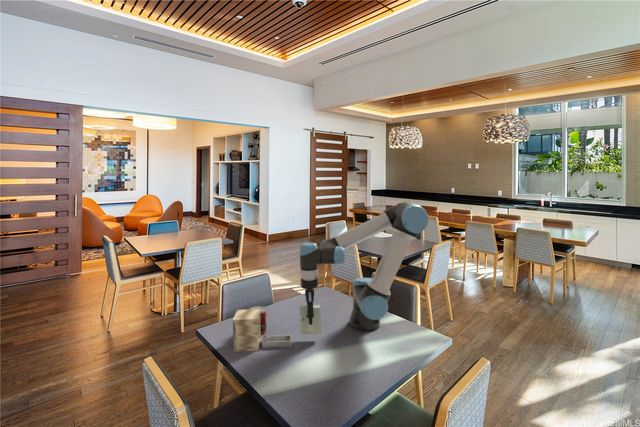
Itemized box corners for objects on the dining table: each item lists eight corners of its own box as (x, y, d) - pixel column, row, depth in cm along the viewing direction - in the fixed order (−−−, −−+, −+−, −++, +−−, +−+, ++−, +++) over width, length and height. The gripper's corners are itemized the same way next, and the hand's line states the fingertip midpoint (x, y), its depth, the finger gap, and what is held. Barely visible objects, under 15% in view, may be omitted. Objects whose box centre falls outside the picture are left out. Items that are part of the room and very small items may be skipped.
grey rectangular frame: (292, 340, 146) (292, 334, 146) (291, 346, 141) (291, 341, 141) (263, 341, 146) (263, 335, 145) (262, 347, 140) (262, 342, 140)
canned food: (263, 336, 150) (262, 313, 149) (246, 334, 152) (246, 312, 150) (268, 328, 157) (268, 306, 156) (253, 327, 159) (252, 305, 158)
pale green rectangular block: (320, 330, 148) (319, 304, 147) (321, 334, 145) (320, 308, 143) (300, 331, 148) (299, 305, 146) (300, 335, 144) (299, 309, 143)
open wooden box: (260, 338, 148) (259, 309, 146) (257, 350, 138) (257, 319, 136) (238, 339, 147) (237, 309, 145) (233, 351, 137) (232, 319, 135)
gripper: (300, 272, 151) (302, 320, 154) (300, 284, 135) (302, 337, 138) (316, 272, 152) (318, 320, 155) (318, 283, 136) (320, 336, 139)
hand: (310, 328), depth 146 cm, fingers closed on pale green rectangular block, 3 cm apart
